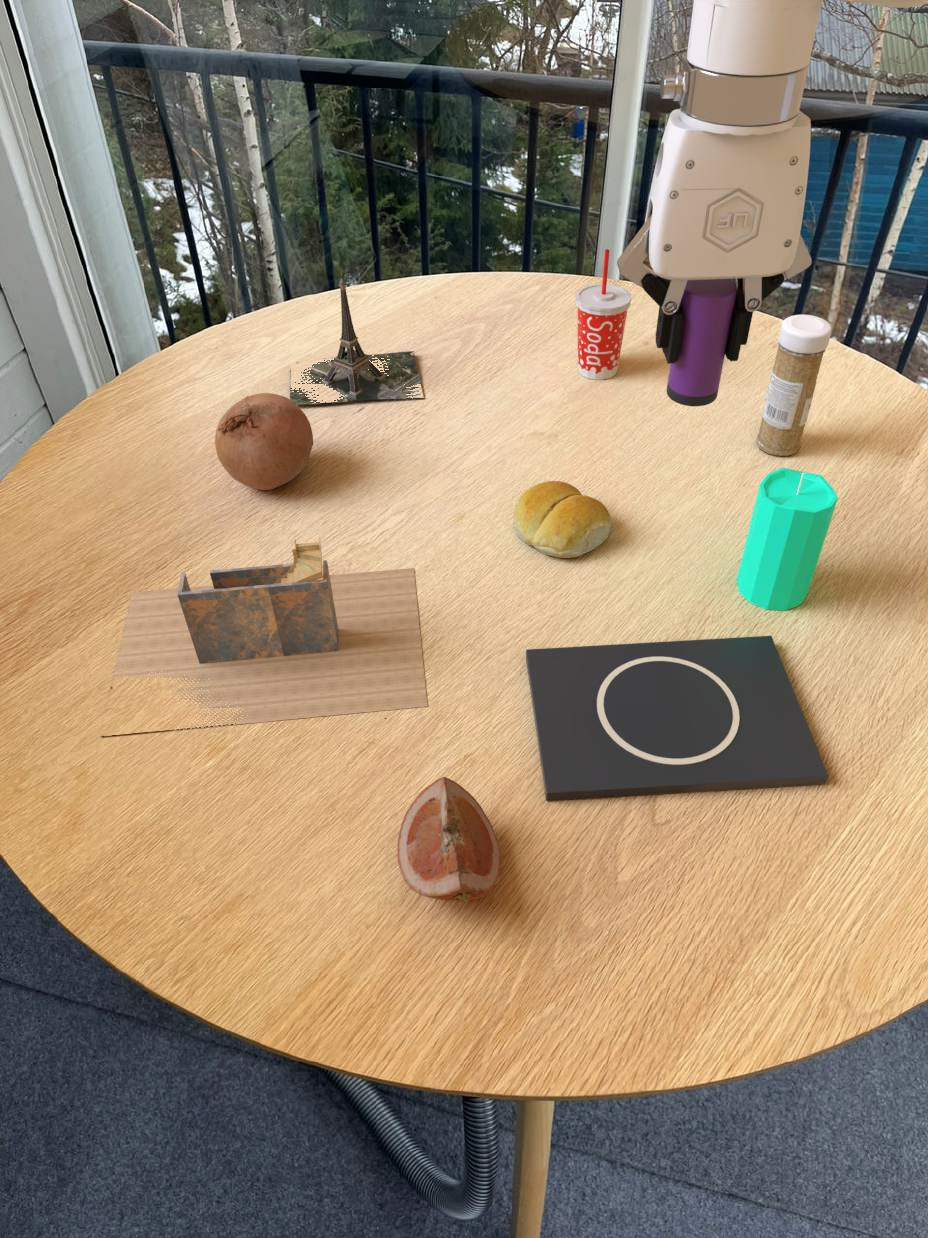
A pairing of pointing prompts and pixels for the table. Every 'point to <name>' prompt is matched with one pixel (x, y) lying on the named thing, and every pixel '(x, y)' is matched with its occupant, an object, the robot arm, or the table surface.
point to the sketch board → (668, 719)
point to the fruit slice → (448, 845)
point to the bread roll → (560, 520)
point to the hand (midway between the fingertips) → (698, 351)
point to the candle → (785, 538)
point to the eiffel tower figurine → (361, 369)
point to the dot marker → (702, 341)
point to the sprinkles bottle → (792, 383)
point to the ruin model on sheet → (283, 640)
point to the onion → (264, 441)
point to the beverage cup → (601, 326)
